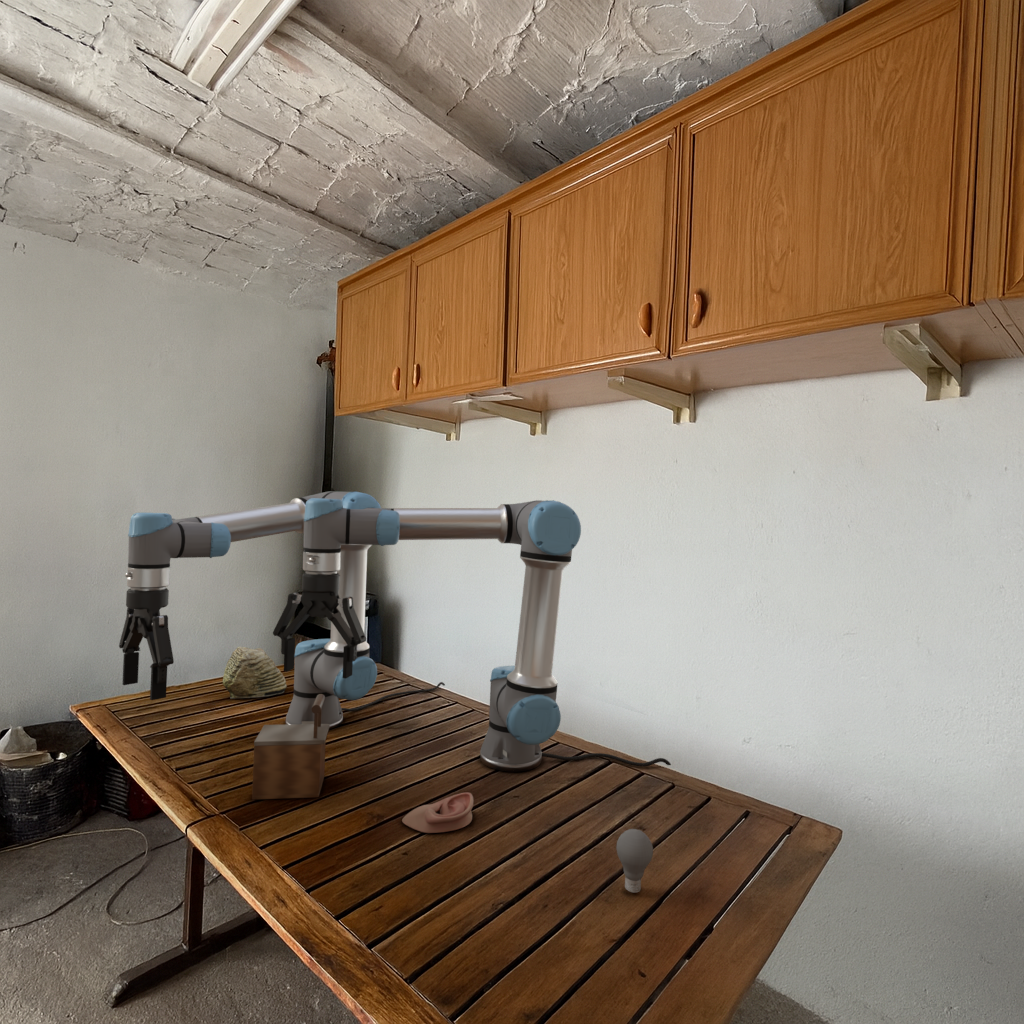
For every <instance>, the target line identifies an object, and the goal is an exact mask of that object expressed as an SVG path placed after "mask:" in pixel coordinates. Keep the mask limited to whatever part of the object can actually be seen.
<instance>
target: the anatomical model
mask: <svg viewBox="0 0 1024 1024" xmlns="http://www.w3.org/2000/svg"><path fill="white" fill-rule="evenodd" d="M473 807H474V796H473V794H472V793H471V792H467V791H466V792H461V793H456V794H453V795H450V796H448V797H445V798H443V799H441V800H439V801H436V802H434V803H431V804H430V803H429V804H423V805H421V806H418V807H416V808H414V809H412V810H411V811H409V812H408V813H407V814H405V816H403V817H402V820H401V821H402V823H403V824H404V825H405V826H406V827H409V828H410V829H412V830H415V831H418V832H421V833H424V834H435V833H437V834H438V833H446V832H452V831H456V830H459V829H463V828H464V827H466V826H468V825H470V824H471V822H472V820H473V813H472V809H474V808H473Z"/></svg>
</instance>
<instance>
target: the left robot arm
mask: <svg viewBox="0 0 1024 1024" xmlns="http://www.w3.org/2000/svg"><path fill="white" fill-rule="evenodd" d="M311 498H323V499H340V500H341V501H342V505H343V508H347V509H364V508H382V506H381V504H380V503H379V501H377V499H376V498H375V497H374V496H372V495H371V494H369V493H365V492H360V491H337V490H330V491H325V492H319V493H315V494H311V495H306V496H301V497H294V498H292V499H291V500H290V502H286V503H280V504H273V505H266V506H260V507H253V508H251V507H250V508H246V509H238V510H232V511H225V512H218V513H210V514H205V515H197V516H191V517H183V518H173V516H172V515H171V514H170V513H165V512H135V513H133V514H132V515H131V517H130V521H129V527H128V534H127V537H128V549H127V550H128V554H127V556H128V558H127V563H128V564H127V572H126V573H124V577H125V578H127V579H126V586H127V587H128V589H127V590H126V593H125V594H126V595H125V606H126V607H127V608H126V616H125V620H124V625H123V629H122V632H121V637H120V639H119V643H118V647H119V649H122V653H123V662H122V663H123V664H122V685H123V686H128V685H134V684H138V683H139V668H140V667H139V665H140V651H141V647H140V645H141V642H142V640H143V638H144V639H146V641H147V645H148V649H149V653H150V656H151V660H152V662H153V663H151V665H150V666H149V667H150V691H149V700H150V701H156V700H161V699H165V698H167V688H168V687H167V682H168V666H170V665H173V664H174V663H175V662H174V661H175V659H174V655H173V649H172V648H173V647H172V642H171V635H170V630H169V616H168V615H167V614H163V615H161V611H160V610H161V609H163V608H166V607H167V606H168V605H169V594H170V591H169V590H170V589H168V588H167V587H168V586H169V585H170V579H171V578H170V577H171V559H185V558H187V559H188V558H189V559H190V558H191V559H194V558H195V559H196V558H209V559H212V558H219V557H224V556H225V555H227V554H228V552H229V550H230V548H231V543H236V542H241V541H246V540H251V539H252V540H253V539H257V538H262V537H269V536H274V535H280V534H284V533H285V534H286V533H291V532H295V533H297V534H299V535H300V534H304V517H305V505H306V502H307V501H308V500H309V499H311ZM346 512H347V511H346ZM345 542H346V539H345ZM372 546H373V545H362V544H341V556H340V570H339V571H337V573H339V575H340V587H339V593H338V594H339V597H340V598H347V597H352V598H353V606H354V609H355V612H356V614H357V617H358V619H359V622H360V624H361V627H362V629H363V632H364V633H365V624H366V623H365V620H366V599H367V598H366V597H367V596H366V595H367V573H368V571H367V570H368V569H367V568H368V550H369V549H370V548H371V547H372ZM340 606H341V605H340V604H339V605H338V606H337V608H338V610H339V611H340V613H341V616H342V618H343V619H344V621H345V622H346V623H347V625H348V622H347V620H346V617H345V615H344V612H343V608H342V607H340ZM348 626H349V625H348ZM349 628H350V627H349ZM346 645H347V643H346V642H345V640H344V639H343V638H342V636H341V635H340V633H339V632H338V630H337V629H336V627H335V626H334V624H333V623H332V622H331V621H330V638H318V639H308V640H304V641H300V642H299V643H297V644H296V645H295V658H294V669H293V670H294V672H293V673H294V674H293V695H292V696H293V697H292V699H291V702H290V704H289V708H288V711H287V713H286V715H285V725H290V724H314V713H313V712H312V706H313V704H314V702H315V699H316V697H317V695H319V694H323V695H324V696H325V700H324V703H323V705H322V715H321V724H330V728H329V730H332V729H335V728H337V727H339V726H340V725H342V723H343V722H344V714H343V712H356V711H360V710H362V709H366V708H367V707H370V706H372V705H375V704H378V702H381V701H383V700H385V699H387V698H391V697H395V696H400V695H408V694H409V695H410V694H415V693H416V694H417V693H426V692H432V691H435V690H437V689H439V687H440V686H441V685H442V686H446V684H445V682H443V681H440V682H439V683H438V684H437V685H436V686H435V687H432V688H427V689H426V688H424V689H414V690H406V691H400V692H395V693H390V694H386V695H383V696H382V697H379V698H378V699H376V700H374V701H371V702H368V703H366V704H364V705H361V706H358V707H353V708H347V707H342V706H341V702H340V699H341V700H347V701H357V700H359V699H362V698H364V697H365V696H366V695H367V694H368V693H369V692H370V690H372V688H373V687H374V685H375V683H376V681H377V677H378V666H377V664H376V662H375V661H374V660H373V659H372V658H370V644H369V643H368V642H367V640H366V641H365V642H363V643H361V644H358V645H357V658H356V660H355V661H353V668H352V676H350V677H348V678H343V653H344V646H346Z"/></svg>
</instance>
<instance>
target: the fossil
mask: <svg viewBox="0 0 1024 1024" xmlns="http://www.w3.org/2000/svg"><path fill="white" fill-rule="evenodd" d="M222 676H223V677H222V685H223V687H224V688H225V690H226V691H228V693H229V698H230V699H250V698H264V697H271V696H275V695H281V694H284V693H285V691H286V689H287V687H288V686H287V680H286V678H285V676H284V674H283V673H282V672H281V669H279V668H278V667H277V665H276V663H275V662H274V660H273V659H272V658H271V657H270V656H269V655H268V654H267V653H266V652H265V650H264V649H263V648H260V647H258V648H251V647H247V646H246V647H245V646H238V647H237V648H236V649H235V650H233V651H232V653H231V656H230V657H229V659H228V660H227V663H226V666H225V668H224V671H223V675H222Z"/></svg>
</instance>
